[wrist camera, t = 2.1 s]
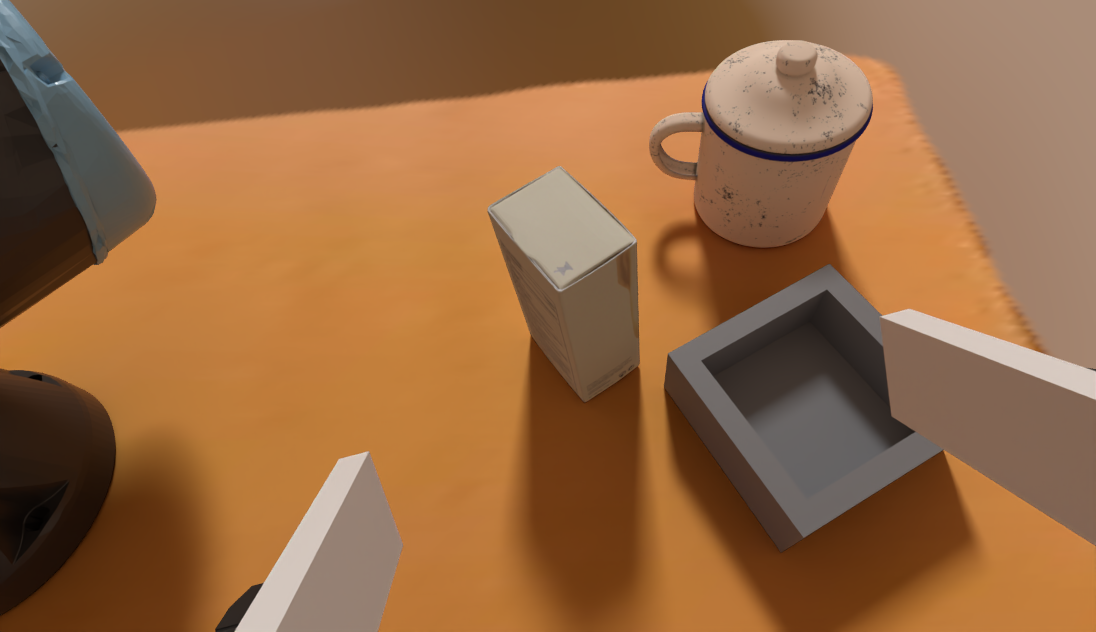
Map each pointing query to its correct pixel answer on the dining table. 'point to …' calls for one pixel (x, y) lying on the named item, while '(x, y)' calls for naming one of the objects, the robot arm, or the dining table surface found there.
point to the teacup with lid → (770, 140)
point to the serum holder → (797, 405)
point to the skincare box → (572, 278)
